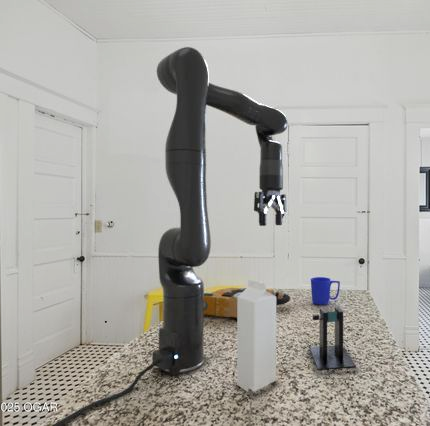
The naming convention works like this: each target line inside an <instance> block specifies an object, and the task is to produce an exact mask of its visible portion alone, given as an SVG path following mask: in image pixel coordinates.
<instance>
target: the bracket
mask: <svg viewBox="0 0 430 426" xmlns="http://www.w3.org/2000/svg"><path fill="white" fill-rule="evenodd" d="M334 311H336V314H337V322H334V345H328V322H327V312H328V311H327V310H326V308H325V307H322V306H321V307H319V314H318V315H319V320H318V321H319V345H317V346H309V350H310V353H311V356H312V358H313V361H314V364H315V366H316V369H317V371H327V370H340V369H341V370H342V369H353V368H355V369H356V368H357V365H356V364H355V362H354V361H353V360H352V358H351V356H350V355H349V353H348V352H347V350H346V349H345V347H344V311H343V310H342V309H341V307H340V306H334Z"/></svg>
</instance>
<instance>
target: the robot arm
mask: <svg viewBox="0 0 430 426" xmlns="http://www.w3.org/2000/svg"><path fill="white" fill-rule="evenodd" d="M209 75H210V74H209V67H208V63H207V61H206V60H205V58H204V56H203V54H202V53H201V52H200V51H199V50H198V49H196V48H195V47H194V48H193V47H190V46H185V47H180V48H178V49H177V50H176V49H175V51H173V52H171V53H170V54H168V55H166V56H165V57H163V58H161V60H160V61H159V62H158V64H157V67H156V76H157V79H158V81H159V83H160V84H161V86H162V87H163V89H165V90H166V91H168V93H171V94H172V95H175V96H176V105H175V110H174V111H175V112H174V115H173V117H172V120H171V124H170V127H169V130H168V132H167V136H166V140H165V146H164V148H165V149H164V150H165V151H164V155H165V156H164V159H165V165H164V166H165V175H166V177H167V180H168V183H169V185H170V188H171V190H172V191H173V194H174V196H175V198H176V201H177V203H178V207H179V216H180V217H179V223H180V224H179V226H180V227H177V226H176V227H171V228H169V229H167V230H165V232H163V234H162V235H161V237H160V239H159V242H158V251H157V253H158V255H157V257H158V279H159V284H160V287H162V299H163V300H162V327H160V328H159V329H158V349H157V350H155V351H152V353H151V354H152V355H151V357H152V358H151V359H152V361H151V364H150V365H148V366H146V367H145V368H144V369H143V370H142V371H141V372H140V373H139V374H138V375H137V376H136V377H135V379H134V380H133V382H132V383H131V384H130V385H129V387H127V388H125V389H124V390H123V391H120V392H119V393H116V394H114V395H110V396H108V397H104V398H102V399H98V400H96V401H94V402H91V403H89V404H87V405H85V406H83V407H81V408H80V409H78V410H76V411H74V412H73V413H71V414H69V415H67V416H66V417H64V418H62V419H60V420H58V421H57V422H54V423H53V424H52V425H51V426H62V425H65V423H67V422H68V421H70V420H72V419H73V418H75V417H77V416H79V415H81V414H83V413H85V412H86V411H89V410H90V409H92V408H94V407H96V406H99V405H101V404H102V405H103V404H105V403H108V402H111V401H114V400H116V399H118V398H120V397H122V396H124V395H126V394H128V393H129V392H130V391H132V390H133V389H134V388H135V386H137V384H138V382H139V381H140V379H141V378H142V377H143V376H144V375H145V374H146V373H147V372H148V371H150V370H151V369H153V368H155V367H156V368H158V370H160V371H162V372H165V373H167V374H170V375H172V376H178V375H180V374H186V373H189V372H192V371H195V370H197V369H199V368H200V367H201V366H203V364H204V362H205V357H204V348H205V347H204V344H205V343H204V327H205V325H204V324H205V323H204V322H205V321H204V320H205V319H204V318H205V315H204V293H205V285H204V281H203V279H202V278H201V277H199V276H198V275H197V274H196V272H195V270H194V268H198V267H200V266H202V265H203V264H205V263H206V262H207V260H208V258H209V256H210V254H211V248H212V239H211V230H210V229H211V228H210V221H209V211H208V195H207V142H206V141H207V139H206V138H207V137H206V136H207V131H206V129H207V128H206V127H207V123H206V121H207V120H206V119H207V107H210V108H213V109H215V110H219V111H220V112H223V113H224V114H228V115H229V116H230V117H231V116H232V117H233V118H235V119H237V120H239V121H241V122H243V123H244V124H247V125H250V126H255V127H254V128H255V134H256V137H257V140H258V145H259V149H260V151H259V153H260V155H259V156H260V157H259V158H260V159H259V176H258V177H259V182H258V183H259V184H258V185H259V190H261V191H254V198H253V211H254V212H256V213H257V214H258V224H259V227H265V226H267V211H268V210H269V209H270V208H272V209H273V210H274V212H275V215H274V216H275V217H274V218H275V219H274V220H275V221H274V223H275V226H282V225H283V215H284V213H286V212H287V211H288V210H287V195H286V194H285V193H282V194H281V191H282V190H283V189H284V166H283V145H282V144H281V143H280V142H278V141H274V139H273V136H275V135H280V134H282V133H285V131H286V130H287V129H288V126H289V125H288V124H289V123H288V122H289V121H288V119H287V116H286V115H285V114H284V113H283V112H282V111H281V110H279V109H276V108H275V107H271V106H269V105H266V104H263V103H259V102H258V101H256V100H254V99H253V98H252V97H250V96H248V95H246V94H244V93H242V92H240V91H238V90H234V89H230V88H227V87H222V86H219V85H217V84H213V83H210V82H209V80H210V78H209Z"/></svg>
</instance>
